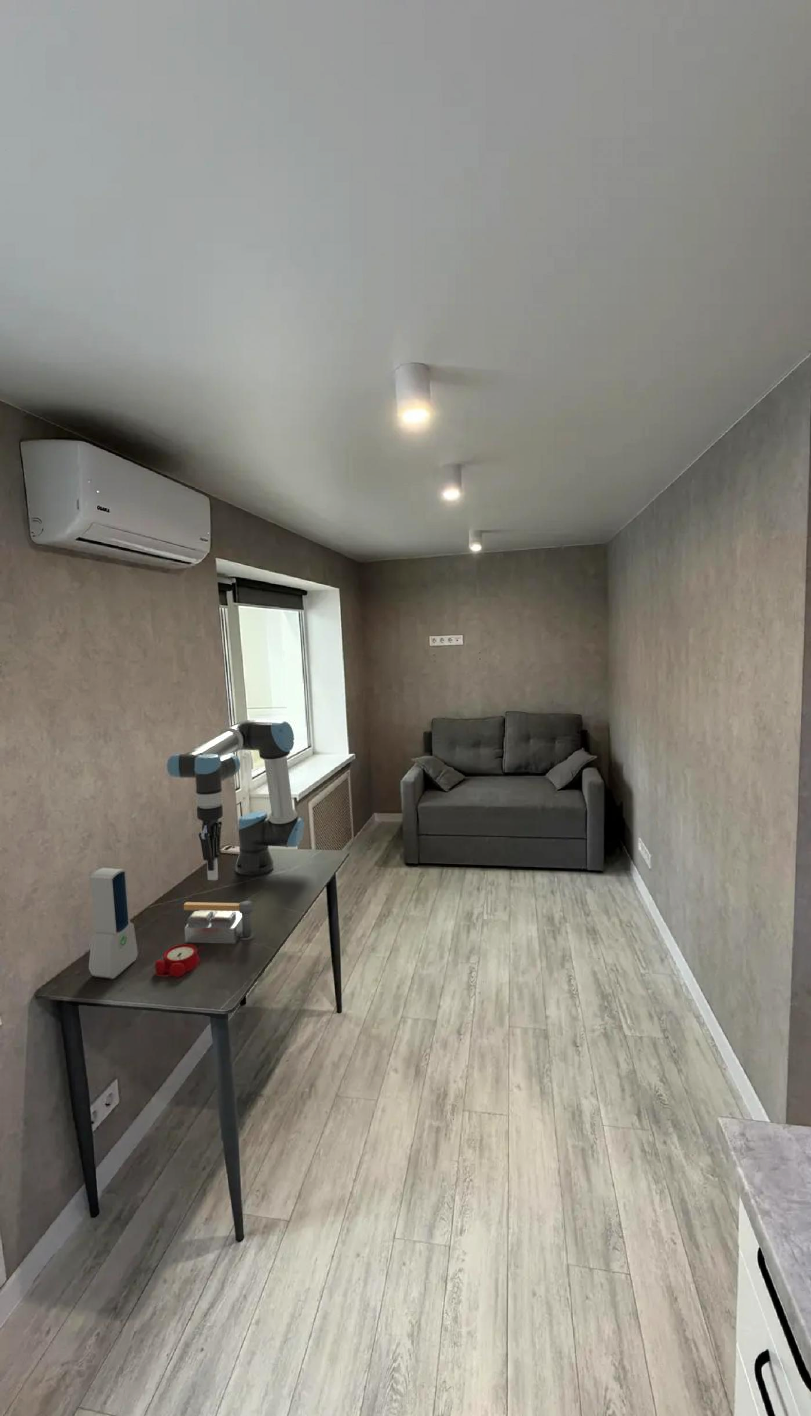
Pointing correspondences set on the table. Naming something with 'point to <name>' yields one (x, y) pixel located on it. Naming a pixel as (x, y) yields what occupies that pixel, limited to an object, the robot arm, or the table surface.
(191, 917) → the grey boxy piece
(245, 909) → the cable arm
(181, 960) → the alarm clock
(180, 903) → the table surface
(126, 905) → the electronic device
